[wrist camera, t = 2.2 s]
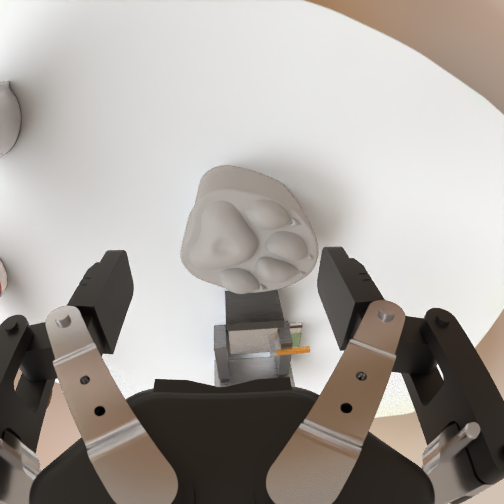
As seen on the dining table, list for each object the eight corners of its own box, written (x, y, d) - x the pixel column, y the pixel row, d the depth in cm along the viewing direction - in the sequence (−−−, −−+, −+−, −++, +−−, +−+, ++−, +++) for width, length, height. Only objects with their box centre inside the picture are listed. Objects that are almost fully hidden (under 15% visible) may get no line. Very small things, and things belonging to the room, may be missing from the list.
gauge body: (209, 326, 43) (208, 376, 35) (302, 320, 44) (316, 368, 36) (215, 365, 48) (215, 412, 40) (296, 360, 49) (306, 404, 41)
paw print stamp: (208, 156, 30) (203, 181, 23) (319, 195, 34) (345, 230, 26) (181, 239, 35) (171, 284, 28) (282, 267, 39) (296, 314, 31)
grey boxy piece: (225, 291, 39) (226, 323, 34) (308, 285, 40) (320, 316, 35) (229, 339, 44) (230, 371, 39) (302, 334, 44) (310, 364, 39)
